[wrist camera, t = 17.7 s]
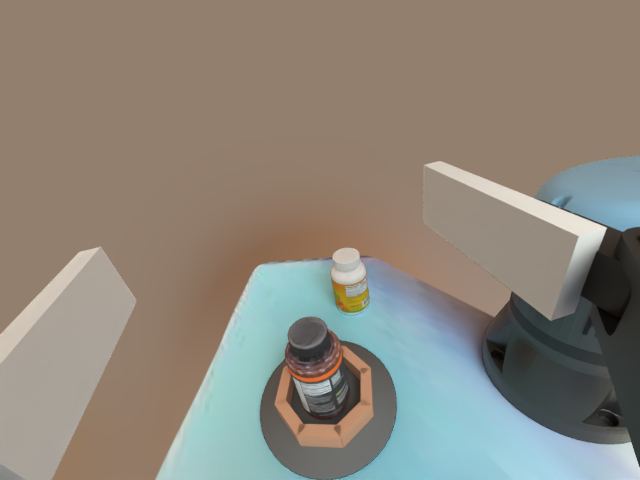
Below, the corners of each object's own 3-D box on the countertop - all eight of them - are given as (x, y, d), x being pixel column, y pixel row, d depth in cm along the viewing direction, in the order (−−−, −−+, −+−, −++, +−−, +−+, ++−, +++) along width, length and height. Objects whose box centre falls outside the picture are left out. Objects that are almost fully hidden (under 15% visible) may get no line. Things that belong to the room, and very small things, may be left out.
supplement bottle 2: (333, 297, 49) (324, 249, 44) (363, 289, 50) (358, 241, 45) (341, 319, 45) (331, 269, 40) (374, 311, 45) (369, 260, 40)
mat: (333, 324, 44) (333, 322, 44) (426, 399, 32) (426, 396, 32) (239, 396, 37) (238, 394, 36) (315, 527, 25) (314, 525, 25)
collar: (331, 342, 41) (329, 332, 40) (392, 396, 33) (392, 385, 32) (265, 394, 36) (261, 385, 35) (319, 473, 28) (315, 463, 27)
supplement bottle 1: (309, 370, 38) (289, 306, 32) (354, 376, 36) (342, 309, 30) (294, 417, 33) (268, 352, 27) (346, 427, 31) (330, 359, 25)
